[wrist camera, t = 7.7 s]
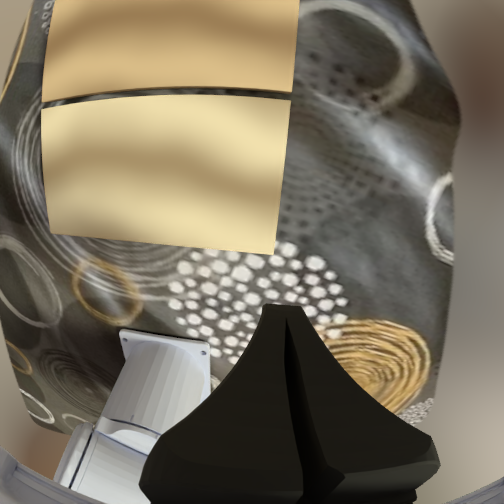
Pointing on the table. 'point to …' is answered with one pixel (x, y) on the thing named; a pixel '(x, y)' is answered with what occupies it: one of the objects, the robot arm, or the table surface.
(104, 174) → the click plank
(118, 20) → the laid oak board
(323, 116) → the table surface
